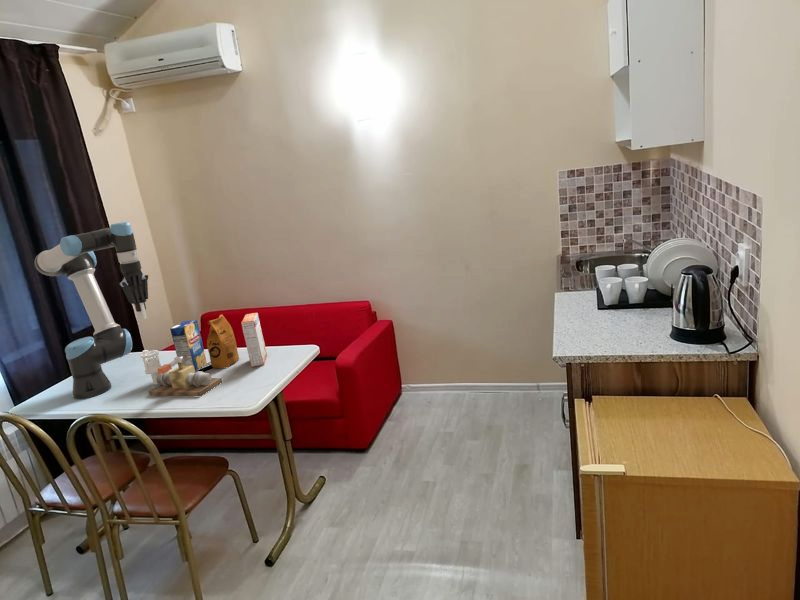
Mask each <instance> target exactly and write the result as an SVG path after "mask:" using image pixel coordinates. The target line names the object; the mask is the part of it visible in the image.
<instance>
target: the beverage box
mask: <svg viewBox="0 0 800 600" xmlns="http://www.w3.org/2000/svg"><path fill="white" fill-rule="evenodd" d="M169 329H170V334H171V338H172V342H173V346H174V349H175V354H176V357H178V356H183V360H184V361H183V362H182V365H183V366H194V369H195V373H196V372H197V371H198V370H199V369H200V368H201V367H202V366H204V365H206V364H207V365H208V361H207V356H206V353H205V348H204V346H203V345H204V344H203V340H202V336H201V331H200V327H199V324H198V319H193V320H183V321H181V322H179V323H177V324H176V325H174V326H172V327H171V328H169Z"/></svg>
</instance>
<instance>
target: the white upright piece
mask: <svg viewBox="0 0 800 600" xmlns="http://www.w3.org/2000/svg"><path fill="white" fill-rule="evenodd" d="M140 358H141V359H142V361H143V365H144V368H145V370H144V373H145V374H146V375H151V380H152V383H153V385H154V384H155V385H159V384H158V383H157V376H158V370H157V369H158V368H160V367H161V366H162V365H161V362H160V358H159V350H157V349H153V350H148V349H144V350H142V353H141V354H140Z"/></svg>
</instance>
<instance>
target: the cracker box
mask: <svg viewBox="0 0 800 600" xmlns="http://www.w3.org/2000/svg"><path fill="white" fill-rule="evenodd" d="M260 322H261V321H260V318H259V313H258V312H252V313H246V314H245V315H244V317H243V319H242V321H241V322H240V323H241V329H242V333H243V336H244V341H245V345H246V348H247V349H246V350H247V354H248V358H249V363H250V366H251V368H255V367H259V366H260V367H261V366H264V365H265V362H266V359H267V356H268V352H267V349H266V343H265V340H264V336H263V332H262V331H263V330H262V327H261V323H260ZM254 366H255V367H254Z"/></svg>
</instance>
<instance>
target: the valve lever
mask: <svg viewBox="0 0 800 600" xmlns="http://www.w3.org/2000/svg"><path fill="white" fill-rule="evenodd" d="M183 361H184V360H183V356H178V357H177V356H175V357H174V360H172V361H170V362H169V363H166V364H163V365H161V367H160V368H158V369H157V370H158V374H164V373H166V372H168V371H172V370H173V369H172V368H173V367H174V366H176V365H178V363H181V362H183Z"/></svg>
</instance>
